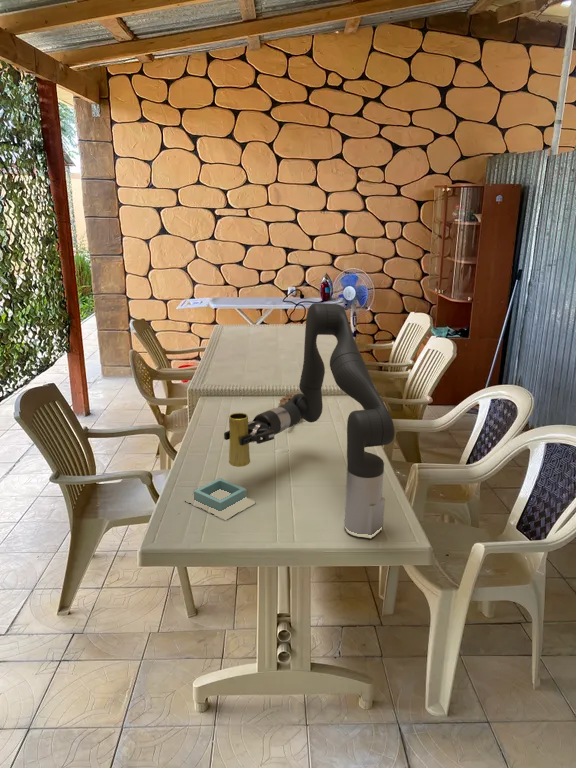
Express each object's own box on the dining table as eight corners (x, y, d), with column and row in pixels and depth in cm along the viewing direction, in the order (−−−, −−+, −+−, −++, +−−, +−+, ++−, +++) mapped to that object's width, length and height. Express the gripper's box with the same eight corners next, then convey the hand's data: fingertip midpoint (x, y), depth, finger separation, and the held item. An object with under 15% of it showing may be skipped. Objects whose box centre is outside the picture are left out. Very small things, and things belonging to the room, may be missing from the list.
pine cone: (277, 412, 241) (277, 388, 238) (301, 412, 241) (302, 388, 238) (279, 434, 220) (279, 408, 217) (306, 434, 220) (306, 408, 217)
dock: (255, 503, 173) (255, 491, 171) (225, 520, 164) (225, 507, 162) (215, 486, 182) (215, 474, 181) (185, 501, 173) (184, 488, 172)
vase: (224, 462, 176) (223, 415, 171) (241, 455, 180) (240, 410, 175) (238, 469, 172) (237, 421, 167) (254, 462, 176) (254, 416, 171)
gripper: (254, 405, 187) (214, 420, 174) (290, 416, 178) (251, 433, 166) (254, 427, 189) (214, 444, 177) (290, 440, 181) (251, 458, 168)
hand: (232, 439), depth 171 cm, fingers closed on vase, 5 cm apart
